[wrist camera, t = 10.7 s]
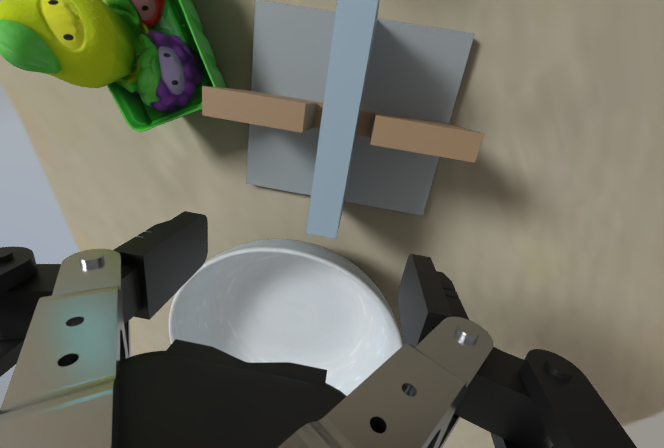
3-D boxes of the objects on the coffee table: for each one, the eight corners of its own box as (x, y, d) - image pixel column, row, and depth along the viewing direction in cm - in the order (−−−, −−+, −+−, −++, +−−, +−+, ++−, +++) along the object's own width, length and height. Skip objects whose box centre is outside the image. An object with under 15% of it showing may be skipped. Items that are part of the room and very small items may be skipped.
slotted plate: (349, 15, 22) (341, -28, 15) (377, 19, 22) (382, -21, 15) (322, 198, 28) (305, 233, 20) (344, 202, 28) (335, 239, 20)
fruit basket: (248, 101, 26) (169, 101, 16) (160, 133, 28) (37, 152, 18) (187, -59, 23) (32, -198, 12) (91, -11, 24) (-116, -95, 14)
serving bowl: (203, 198, 30) (159, 225, 24) (419, 239, 29) (433, 277, 23) (203, 360, 38) (170, 412, 31) (373, 395, 37) (374, 456, 31)
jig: (259, 2, 23) (201, -51, 15) (471, 36, 23) (529, -1, 15) (249, 181, 29) (202, 213, 21) (421, 212, 28) (443, 258, 20)
